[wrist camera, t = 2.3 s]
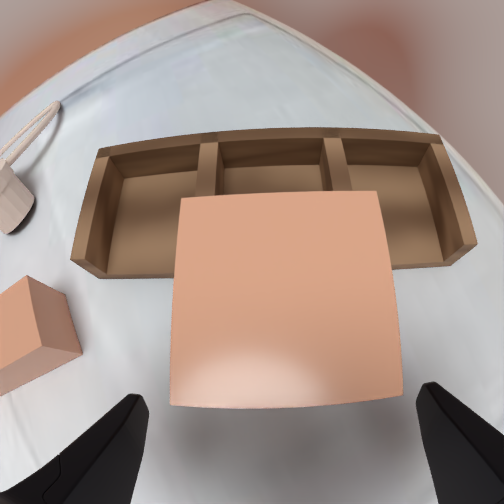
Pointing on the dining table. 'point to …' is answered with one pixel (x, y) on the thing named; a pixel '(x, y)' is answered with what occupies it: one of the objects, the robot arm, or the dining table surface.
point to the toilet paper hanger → (6, 182)
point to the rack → (268, 191)
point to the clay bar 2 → (283, 302)
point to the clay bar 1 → (34, 333)
